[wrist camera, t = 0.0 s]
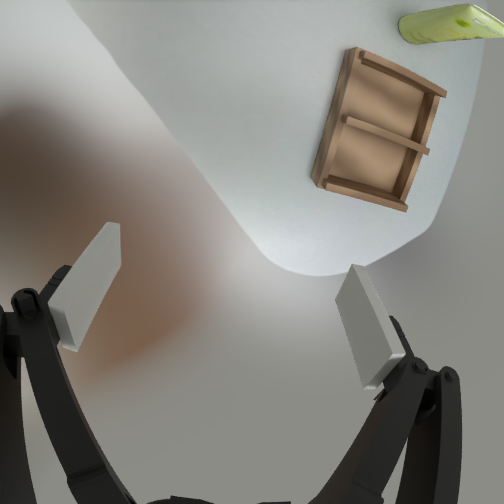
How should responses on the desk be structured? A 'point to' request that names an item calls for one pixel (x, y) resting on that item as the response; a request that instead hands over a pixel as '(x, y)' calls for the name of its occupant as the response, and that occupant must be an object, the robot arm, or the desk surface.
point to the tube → (450, 25)
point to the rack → (375, 130)
